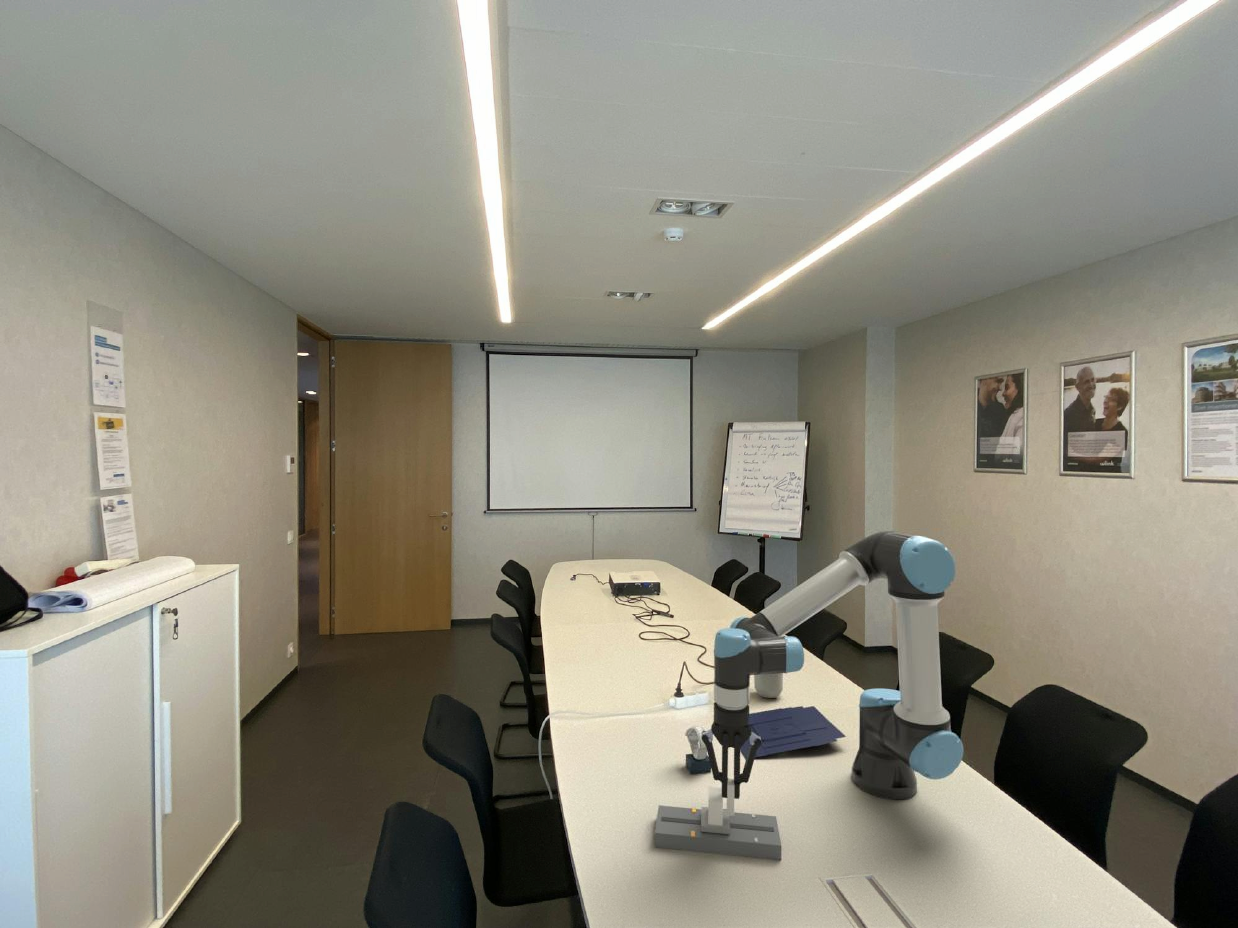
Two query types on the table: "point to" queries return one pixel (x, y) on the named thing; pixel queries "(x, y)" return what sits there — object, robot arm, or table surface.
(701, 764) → the watch
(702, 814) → the fader tab
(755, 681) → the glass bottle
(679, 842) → the console
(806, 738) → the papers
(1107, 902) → the table surface
